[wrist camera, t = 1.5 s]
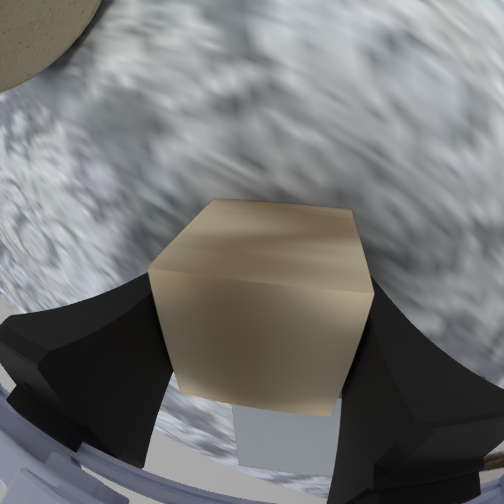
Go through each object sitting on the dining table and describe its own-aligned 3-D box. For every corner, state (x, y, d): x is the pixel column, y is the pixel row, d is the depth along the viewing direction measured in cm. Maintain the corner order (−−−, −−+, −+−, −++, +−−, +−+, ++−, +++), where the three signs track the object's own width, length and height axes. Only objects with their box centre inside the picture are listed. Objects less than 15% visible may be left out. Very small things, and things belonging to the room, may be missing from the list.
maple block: (351, 209, 10) (374, 293, 6) (331, 317, 12) (330, 416, 8) (214, 198, 11) (147, 267, 6) (221, 304, 13) (180, 392, 9)
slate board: (484, 377, 12) (489, 391, 11) (405, 462, 19) (405, 472, 18) (235, 368, 15) (229, 384, 14) (241, 454, 22) (238, 465, 21)
